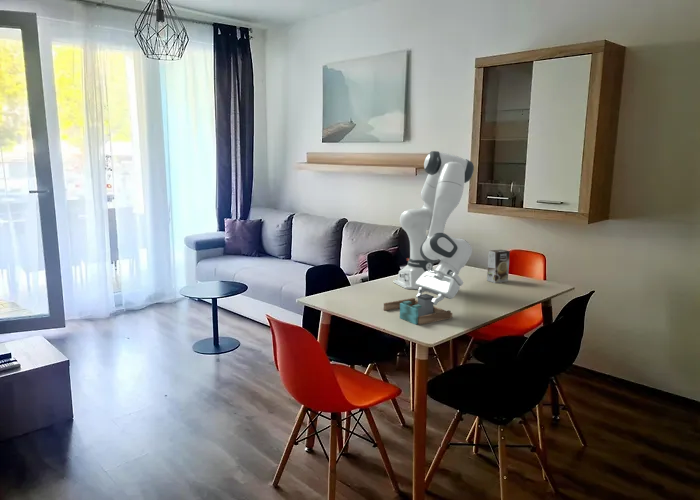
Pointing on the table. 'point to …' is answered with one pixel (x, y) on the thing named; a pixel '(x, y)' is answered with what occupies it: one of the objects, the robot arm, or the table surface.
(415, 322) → the frame
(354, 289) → the table surface
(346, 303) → the table surface
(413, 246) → the robot arm
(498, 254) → the coffee box
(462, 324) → the table surface
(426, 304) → the tall grey block
